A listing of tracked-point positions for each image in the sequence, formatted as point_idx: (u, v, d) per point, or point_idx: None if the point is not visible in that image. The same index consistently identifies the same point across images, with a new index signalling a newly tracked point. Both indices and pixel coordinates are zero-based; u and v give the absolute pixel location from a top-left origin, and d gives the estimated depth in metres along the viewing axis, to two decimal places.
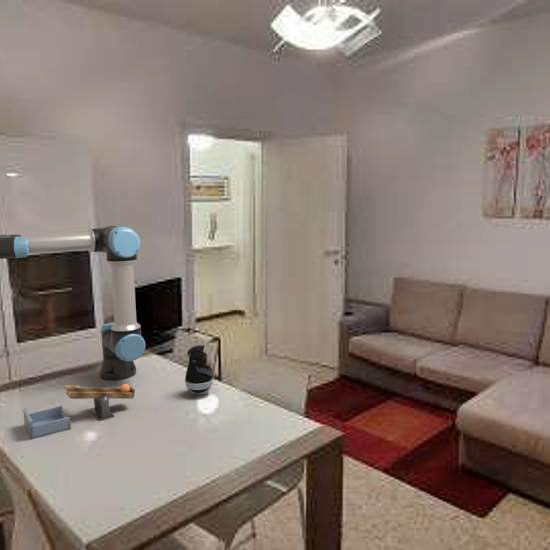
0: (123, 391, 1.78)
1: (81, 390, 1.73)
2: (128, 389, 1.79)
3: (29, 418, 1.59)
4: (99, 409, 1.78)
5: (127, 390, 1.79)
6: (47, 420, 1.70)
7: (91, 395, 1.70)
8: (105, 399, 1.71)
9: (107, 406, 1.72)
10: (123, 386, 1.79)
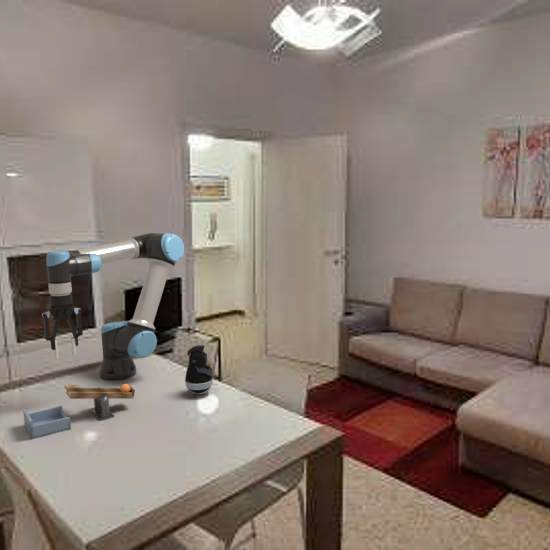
0: (123, 391, 1.78)
1: (81, 390, 1.73)
2: (128, 389, 1.79)
3: (29, 418, 1.59)
4: (99, 409, 1.78)
5: (127, 390, 1.79)
6: (47, 420, 1.70)
7: (91, 395, 1.70)
8: (105, 399, 1.71)
9: (107, 406, 1.72)
10: (123, 386, 1.79)
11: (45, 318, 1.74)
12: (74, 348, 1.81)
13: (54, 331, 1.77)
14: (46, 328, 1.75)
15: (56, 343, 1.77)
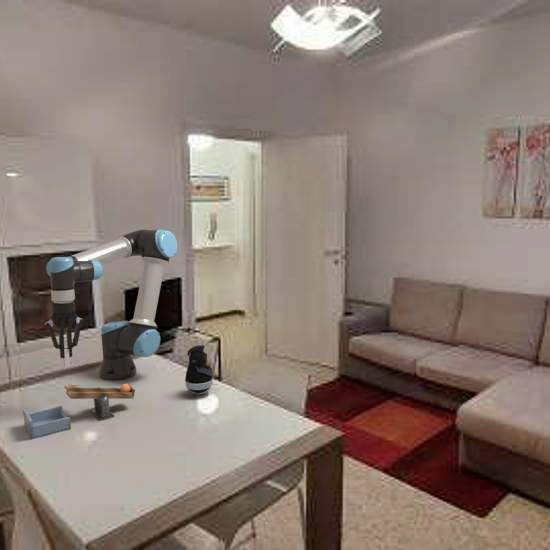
0: (123, 391, 1.78)
1: (81, 390, 1.73)
2: (128, 389, 1.79)
3: (29, 418, 1.59)
4: (99, 409, 1.78)
5: (127, 390, 1.79)
6: (47, 420, 1.70)
7: (91, 395, 1.70)
8: (105, 399, 1.71)
9: (107, 406, 1.72)
10: (123, 386, 1.79)
11: (49, 327, 1.71)
12: (68, 359, 1.76)
13: (61, 339, 1.74)
14: (52, 337, 1.72)
15: (65, 351, 1.75)
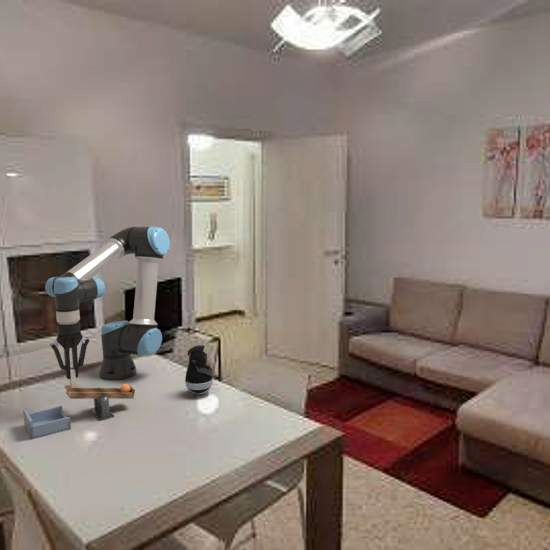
0: (123, 391, 1.78)
1: (81, 390, 1.73)
2: (128, 389, 1.79)
3: (29, 418, 1.59)
4: (99, 409, 1.78)
5: (127, 390, 1.79)
6: (47, 420, 1.70)
7: (91, 395, 1.70)
8: (105, 399, 1.71)
9: (107, 406, 1.72)
10: (123, 386, 1.79)
11: (54, 349, 1.70)
12: (74, 380, 1.74)
13: (67, 360, 1.72)
14: (58, 358, 1.71)
15: (71, 372, 1.74)
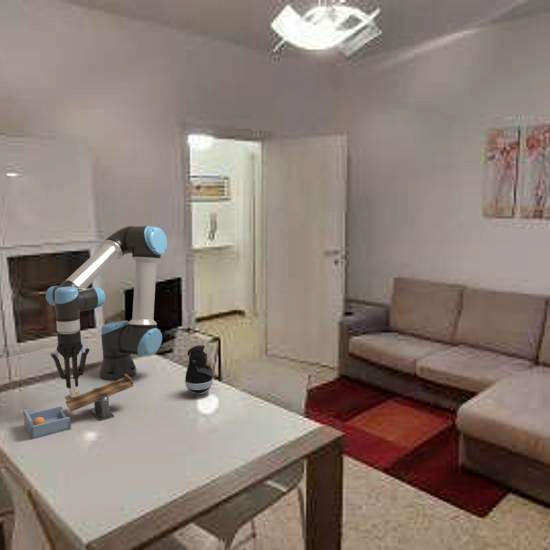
0: (37, 421, 1.62)
1: (80, 397, 1.73)
2: None
3: (29, 418, 1.59)
4: (99, 409, 1.78)
5: None
6: (47, 420, 1.70)
7: (90, 400, 1.70)
8: (105, 399, 1.71)
9: (107, 406, 1.72)
10: (42, 418, 1.64)
11: (55, 358, 1.70)
12: (74, 389, 1.75)
13: (67, 369, 1.73)
14: (58, 367, 1.71)
15: (71, 381, 1.74)
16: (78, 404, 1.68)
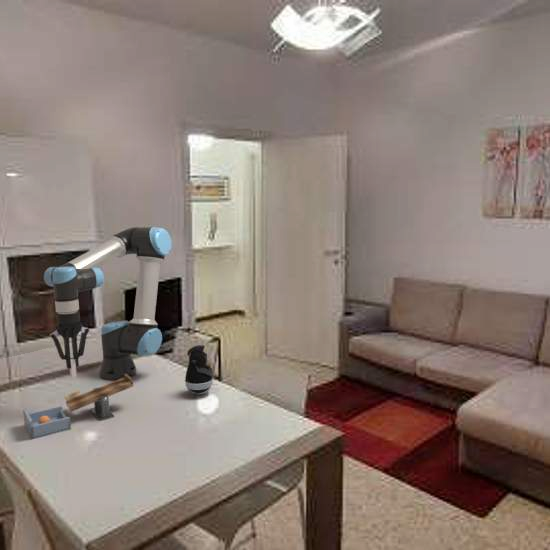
0: (45, 419, 1.64)
1: (80, 397, 1.73)
2: None
3: (29, 418, 1.59)
4: (99, 409, 1.78)
5: None
6: None
7: (90, 400, 1.70)
8: (105, 399, 1.71)
9: (107, 406, 1.72)
10: (49, 420, 1.65)
11: (54, 339, 1.69)
12: (74, 369, 1.74)
13: (67, 350, 1.72)
14: (58, 348, 1.70)
15: (72, 362, 1.73)
16: (78, 404, 1.68)
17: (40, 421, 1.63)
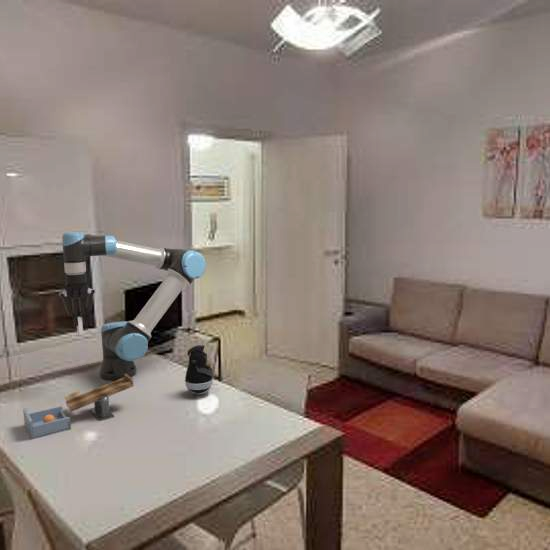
0: (52, 419, 1.65)
1: (80, 397, 1.73)
2: None
3: (29, 418, 1.59)
4: (99, 409, 1.78)
5: None
6: None
7: (90, 400, 1.70)
8: (105, 399, 1.71)
9: (107, 406, 1.72)
10: None
11: (63, 297, 1.85)
12: (81, 327, 1.90)
13: (75, 308, 1.88)
14: (67, 306, 1.86)
15: (79, 319, 1.89)
16: (78, 404, 1.68)
17: (47, 417, 1.65)
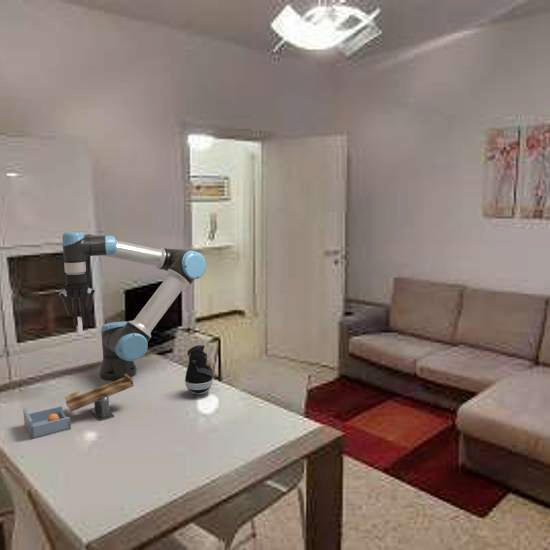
0: None
1: (80, 397, 1.73)
2: (52, 420, 1.65)
3: (29, 418, 1.59)
4: (99, 409, 1.78)
5: (53, 420, 1.65)
6: None
7: (90, 400, 1.70)
8: (105, 399, 1.71)
9: (107, 406, 1.72)
10: None
11: (63, 297, 1.85)
12: (81, 327, 1.90)
13: (74, 308, 1.88)
14: (67, 306, 1.86)
15: (78, 319, 1.89)
16: (78, 404, 1.68)
17: (55, 415, 1.66)
